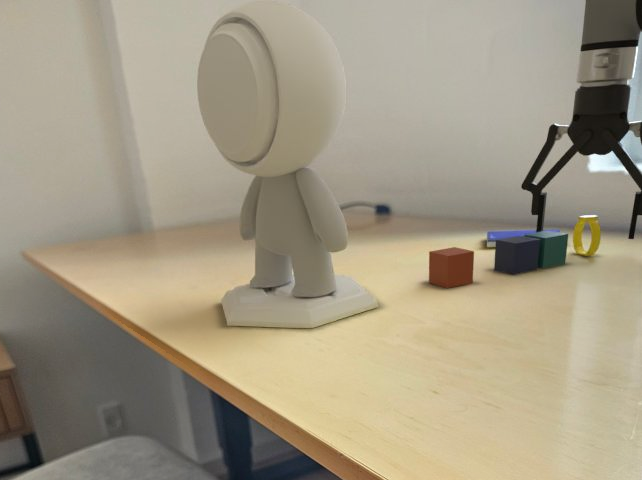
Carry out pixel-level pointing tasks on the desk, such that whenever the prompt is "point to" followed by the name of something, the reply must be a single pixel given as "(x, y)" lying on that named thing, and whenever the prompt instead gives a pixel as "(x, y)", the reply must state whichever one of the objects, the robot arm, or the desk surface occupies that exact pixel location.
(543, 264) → the block teal
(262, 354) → the desk surface
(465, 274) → the block terracotta
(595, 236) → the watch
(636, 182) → the robot arm
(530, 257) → the block navy
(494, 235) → the hard drive
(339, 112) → the white toy figurine
